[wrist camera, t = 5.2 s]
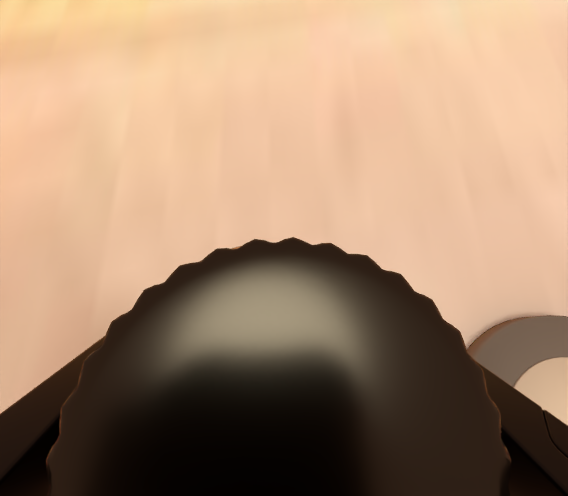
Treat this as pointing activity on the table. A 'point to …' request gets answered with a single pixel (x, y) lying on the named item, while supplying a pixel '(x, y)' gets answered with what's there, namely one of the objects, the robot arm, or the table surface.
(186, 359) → the supplement bottle
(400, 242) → the table surface
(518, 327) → the hub pad
